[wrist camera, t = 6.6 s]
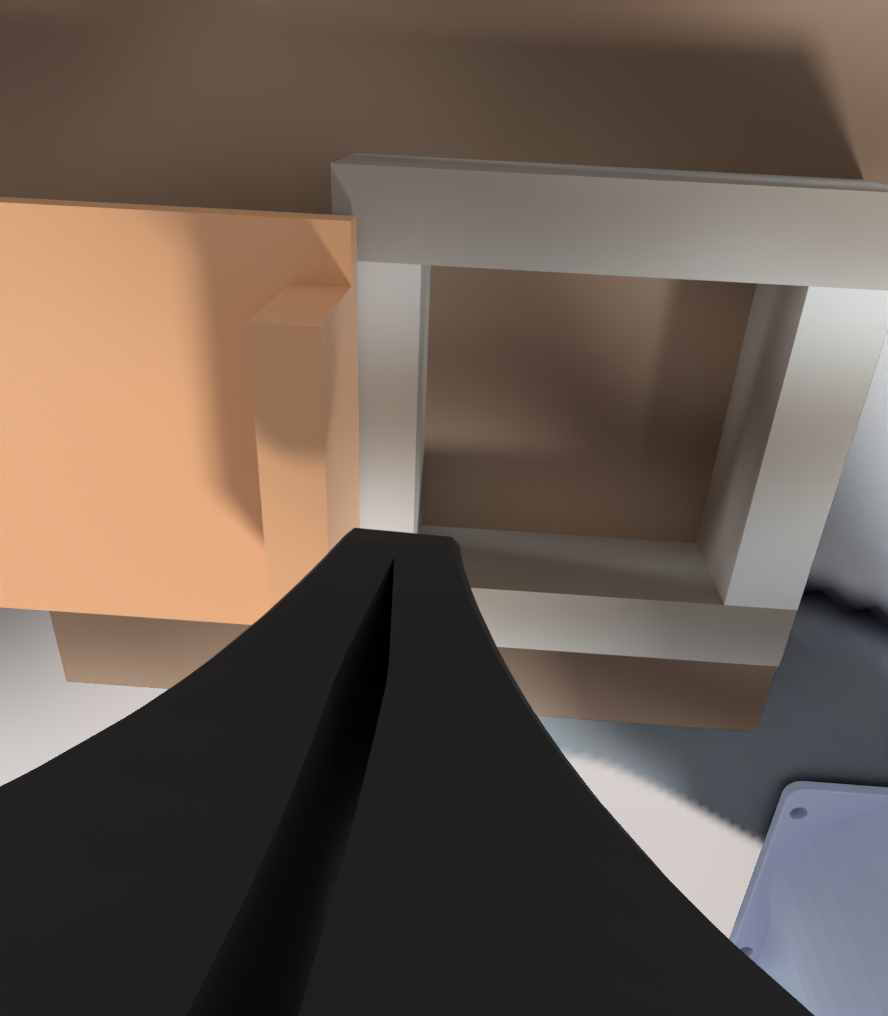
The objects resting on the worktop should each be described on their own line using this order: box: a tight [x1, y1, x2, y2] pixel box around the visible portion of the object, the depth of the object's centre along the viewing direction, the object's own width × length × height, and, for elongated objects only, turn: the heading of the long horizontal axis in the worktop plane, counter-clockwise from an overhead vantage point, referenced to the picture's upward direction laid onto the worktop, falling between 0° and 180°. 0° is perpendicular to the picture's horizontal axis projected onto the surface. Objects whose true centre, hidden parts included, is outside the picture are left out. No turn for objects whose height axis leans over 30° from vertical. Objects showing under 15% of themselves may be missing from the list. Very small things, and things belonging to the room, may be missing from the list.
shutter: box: [0, 197, 360, 625], centre depth 13 cm, size 8×8×3 cm
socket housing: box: [0, 0, 888, 732], centre depth 16 cm, size 18×19×4 cm
